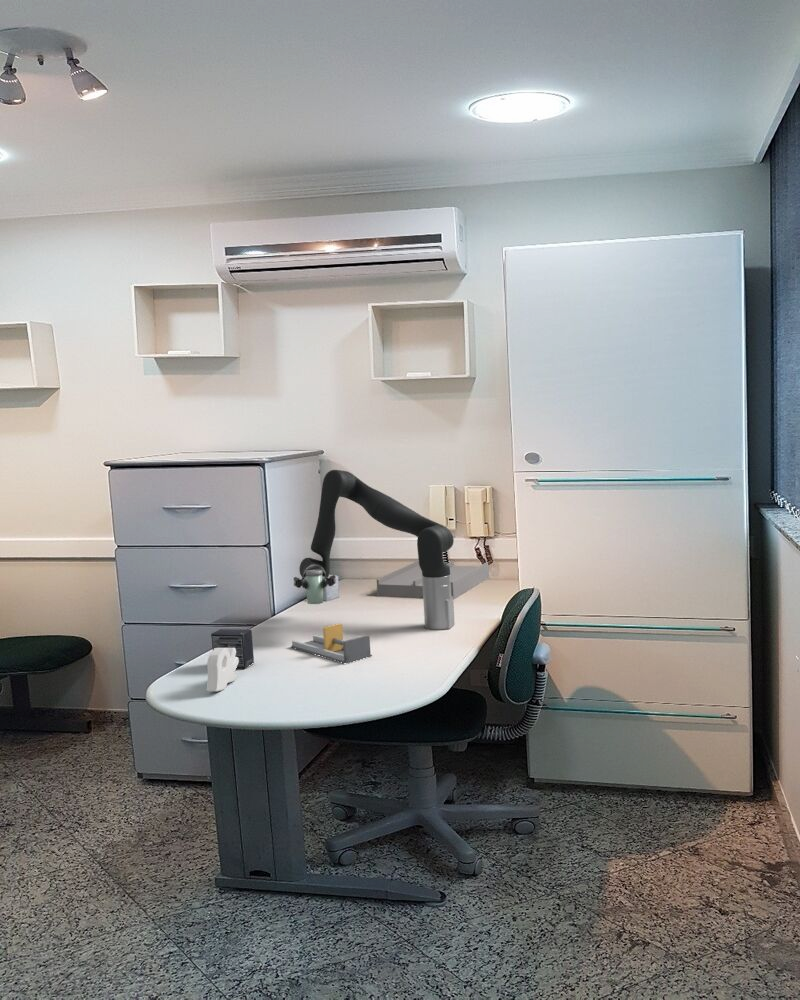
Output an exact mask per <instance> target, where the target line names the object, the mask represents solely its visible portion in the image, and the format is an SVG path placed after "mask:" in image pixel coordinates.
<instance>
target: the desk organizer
mask: <svg viewBox="0 0 800 1000" xmlns="http://www.w3.org/2000/svg"><path fill="white" fill-rule="evenodd" d="M446 564H447V565H448V566H449V567H450V579H451V596H453V601H455V600H456V599H457V598H459V597H461V596H462V595H464V594H466V593H467V592H468V591H470V590H472V589H473V588H475V587H478V586H479V585H480V584H481V583H483V582H485V581H487V580H488V579H490V573H489V572H490V569H489V562H488V561H487V562H484V563H482V564H481V565H479V566H475V565H474V566H473V565H472V566H471V565H455V563H454V560H453V561H450V562H447V563H446ZM376 593H377V594H376V595H377V597H383V598H384V597H387V598H388V597H389V598H409V599H423V582H422V570H421V568H420V566H419V561H418V560H415V561H414V562H412V563H409V564H407V565H405V566H403V567H401V568H398V569H397V570H394V571H392V572H389V573H388V574H385V575H383V576H381V577H379V578H377V579H376Z"/></svg>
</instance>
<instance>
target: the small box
mask: <svg viewBox="0 0 800 1000" xmlns="http://www.w3.org/2000/svg"><path fill="white" fill-rule="evenodd" d="M252 631H253V629H252V628H251V629H243V628H242V629H237V628H236V629H235V628H234V629H232V628H231V629H230V628H229V629H227V628H225V629H224V628H222V629H221V628H220V629H218V630H216V631H213V632H212V633H210V637H211V645H212V646H211V647H212V651H213V650H214V648H235V649H236V655H235V657H238V659H239V663H238V665H237V668H246V669H248V668H249V667H250V666H249V665H251V664H252V663H254V664H255V657H254V656H255V655H254V647H253V646H254V645H253V632H252ZM252 665H253V664H252ZM252 665H251V666H252ZM248 666H249V667H248ZM247 667H248V668H247Z"/></svg>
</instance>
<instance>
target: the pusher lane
mask: <svg viewBox="0 0 800 1000" xmlns="http://www.w3.org/2000/svg"><path fill="white" fill-rule="evenodd" d="M370 636H371V635H369V634H366V635H362V636H359V637H355V638H354V637H353V638H351V639H347V640H344V641H343V648H344V649H341V650H338V651H334V652H332V651H329V650H326V649H324V636H320V635H317V634H314V635H313V636H312V640H309V641H305V642H301V641H298V640H291V646H290V648H291V647H293V648H292V649H294V648H296V649H295V650H297V649H299V650H298V651H300V650H303V651H302V652H304V651H306V652H305V653H307V652H309V653H308V654H310V653H313V654H312V655H314V654H316V655H315V656H317V655H320V656H323V657H326V658H325V659H327V658H329V659H328V660H330V659H332V660H331V661H333V660H336V661H339V662H338V663H340V662H342V663H341V664H343V663H348V664H351V663H354V662H353V661H355V662H357V661H356V660H358V661H360V659H362V660H364V659H363V658H365V659H367V658H366V657H369V658H371V657H370V656H372V657H373V654H372V653H371V639H370V638H371V637H370ZM320 656H319V657H320ZM323 657H322V658H323ZM336 661H335V662H336ZM350 662H351V663H350Z"/></svg>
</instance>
